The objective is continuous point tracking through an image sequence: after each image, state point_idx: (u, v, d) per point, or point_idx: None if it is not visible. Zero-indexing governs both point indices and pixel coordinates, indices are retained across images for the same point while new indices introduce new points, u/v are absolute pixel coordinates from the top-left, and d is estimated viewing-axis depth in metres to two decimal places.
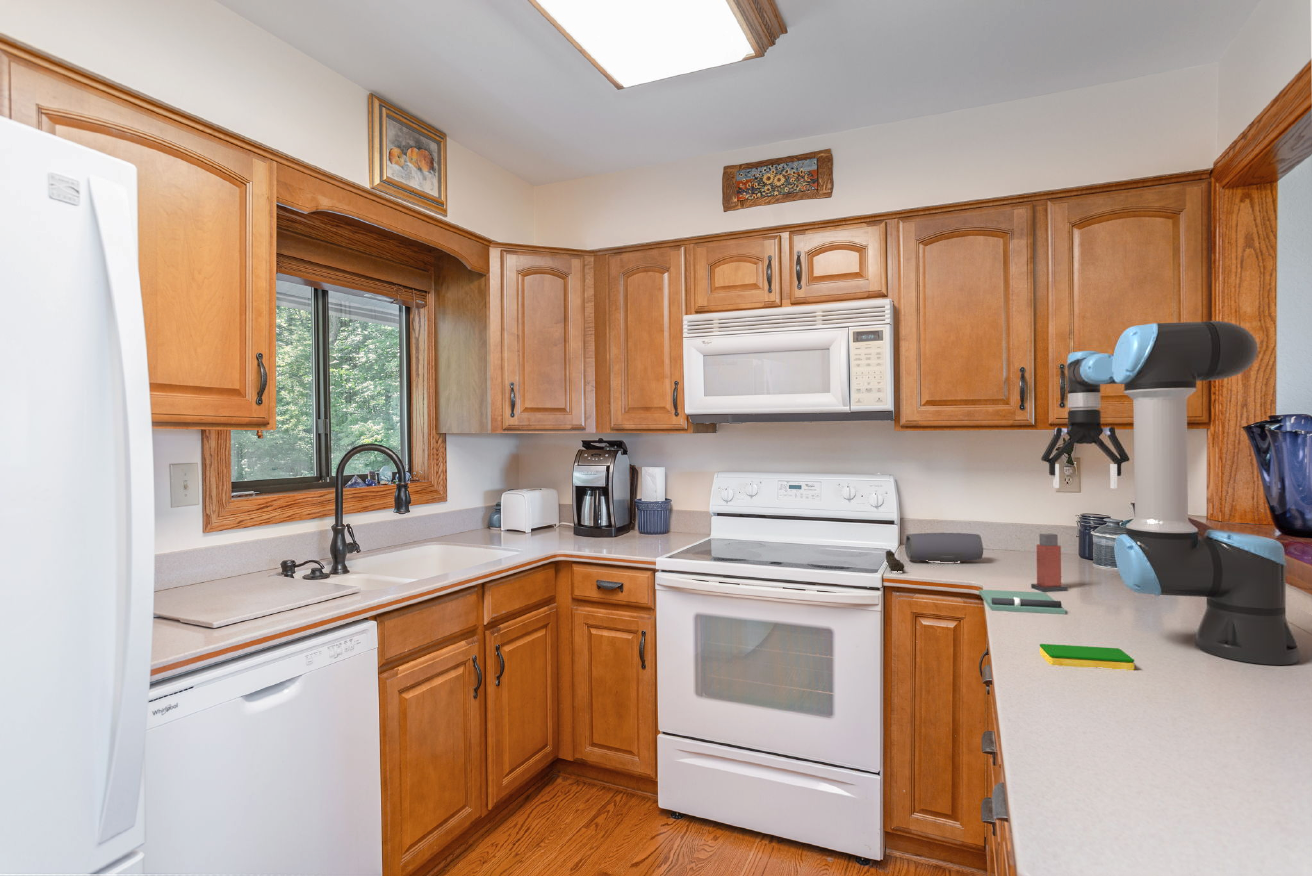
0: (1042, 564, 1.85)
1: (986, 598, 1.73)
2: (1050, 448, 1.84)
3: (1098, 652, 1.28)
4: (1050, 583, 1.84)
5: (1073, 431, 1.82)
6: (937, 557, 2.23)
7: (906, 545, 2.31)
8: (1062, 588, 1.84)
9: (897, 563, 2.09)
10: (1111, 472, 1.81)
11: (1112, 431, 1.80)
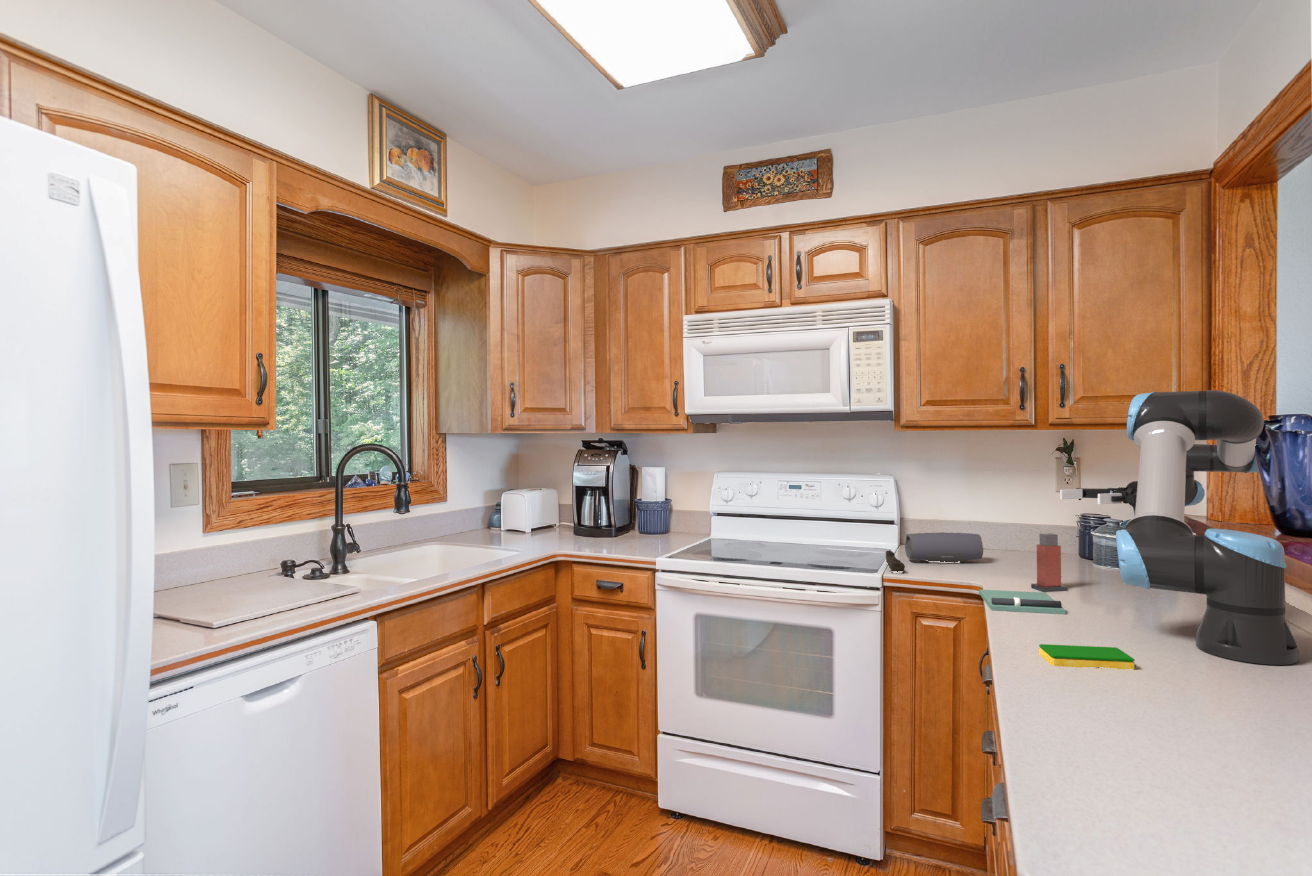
0: (1042, 564, 1.85)
1: (986, 598, 1.73)
2: None
3: (1097, 652, 1.28)
4: (1050, 583, 1.84)
5: None
6: (937, 557, 2.23)
7: (906, 545, 2.31)
8: (1062, 588, 1.84)
9: (897, 563, 2.09)
10: None
11: None
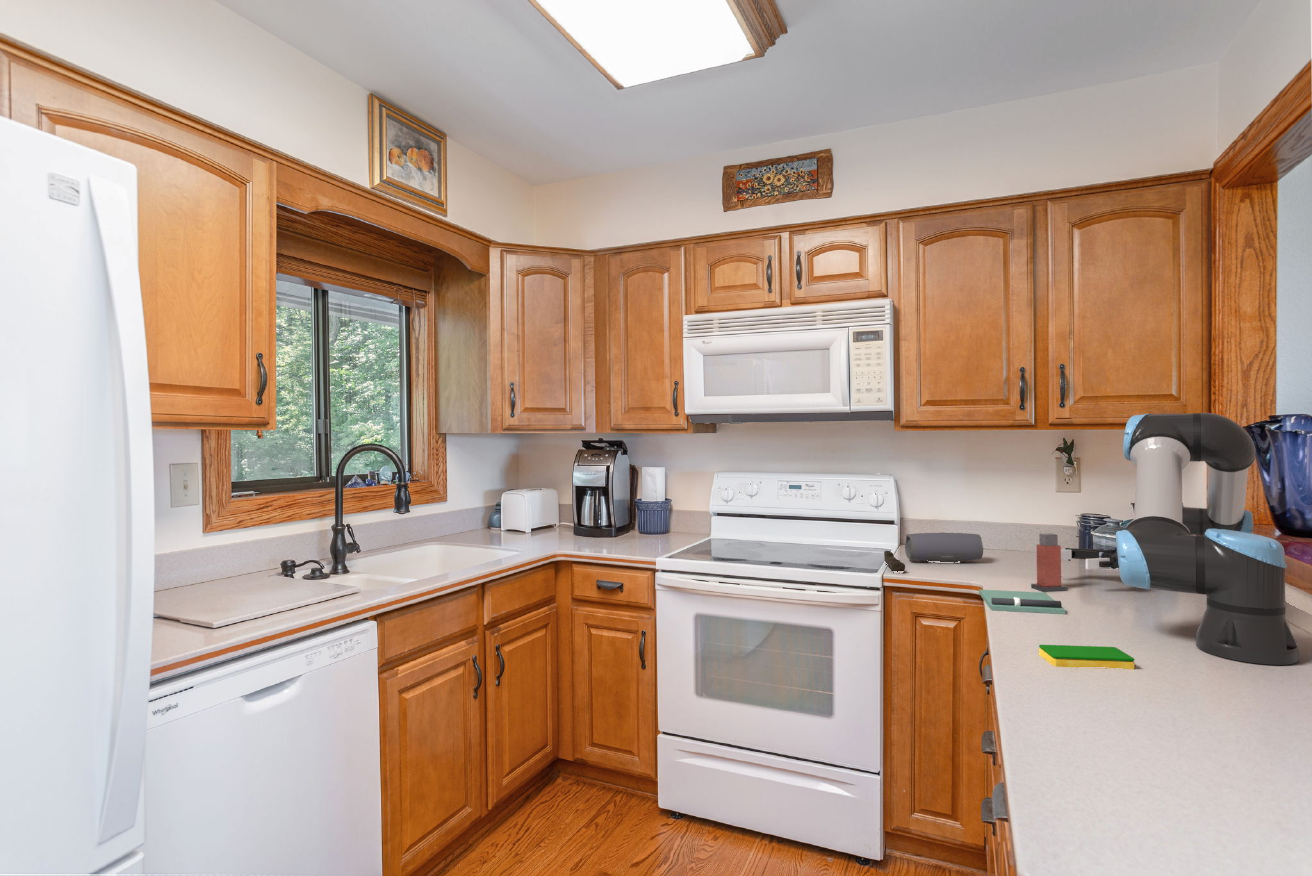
0: (1042, 564, 1.85)
1: (986, 598, 1.73)
2: None
3: (1097, 651, 1.28)
4: (1050, 583, 1.84)
5: None
6: (937, 557, 2.23)
7: (906, 545, 2.31)
8: (1062, 588, 1.84)
9: (898, 563, 2.09)
10: None
11: None
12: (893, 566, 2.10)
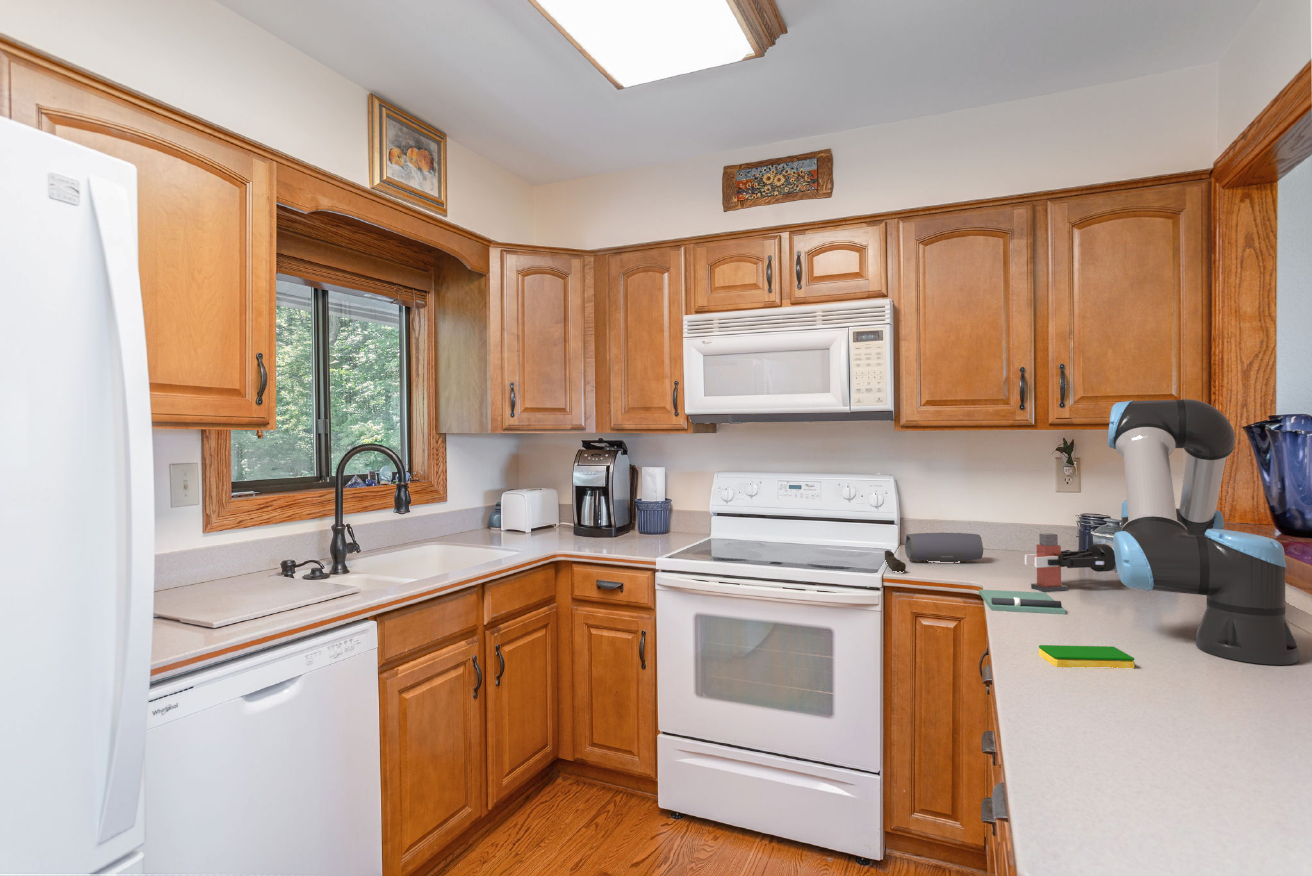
0: None
1: (986, 598, 1.73)
2: None
3: (1097, 651, 1.28)
4: (1050, 583, 1.84)
5: None
6: (937, 557, 2.23)
7: (906, 545, 2.31)
8: (1062, 588, 1.84)
9: (899, 563, 2.09)
10: None
11: (1098, 557, 1.82)
12: (894, 566, 2.10)
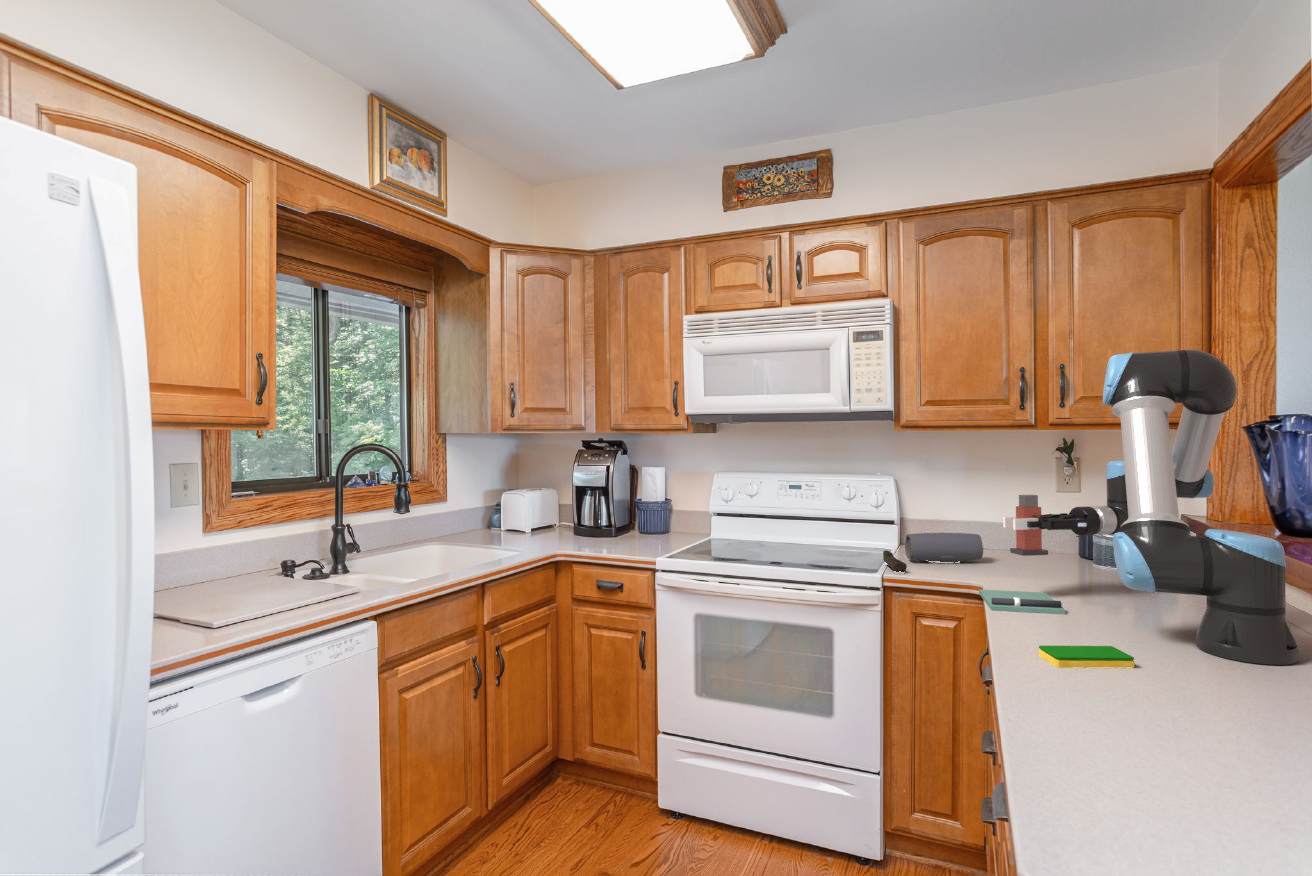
0: None
1: (986, 598, 1.73)
2: None
3: (1097, 651, 1.28)
4: (1029, 546, 1.74)
5: None
6: (937, 557, 2.23)
7: (906, 545, 2.31)
8: (1042, 552, 1.74)
9: (900, 563, 2.09)
10: None
11: (1081, 519, 1.72)
12: (895, 566, 2.09)
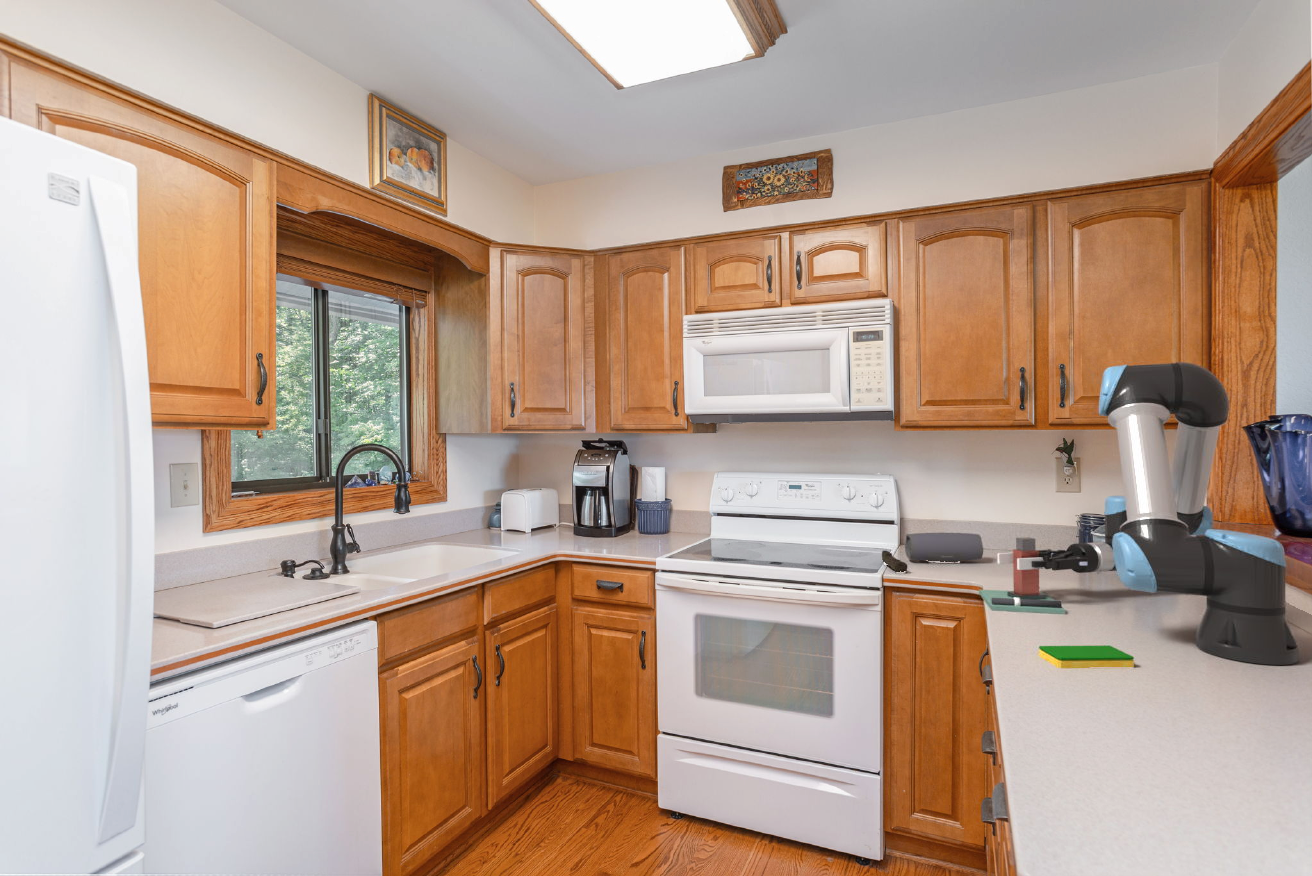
0: (1019, 570, 1.72)
1: (986, 598, 1.73)
2: None
3: (1097, 651, 1.28)
4: (1027, 591, 1.72)
5: None
6: (937, 557, 2.23)
7: (906, 545, 2.31)
8: (1040, 596, 1.71)
9: (901, 563, 2.09)
10: None
11: (1081, 558, 1.69)
12: (896, 566, 2.09)
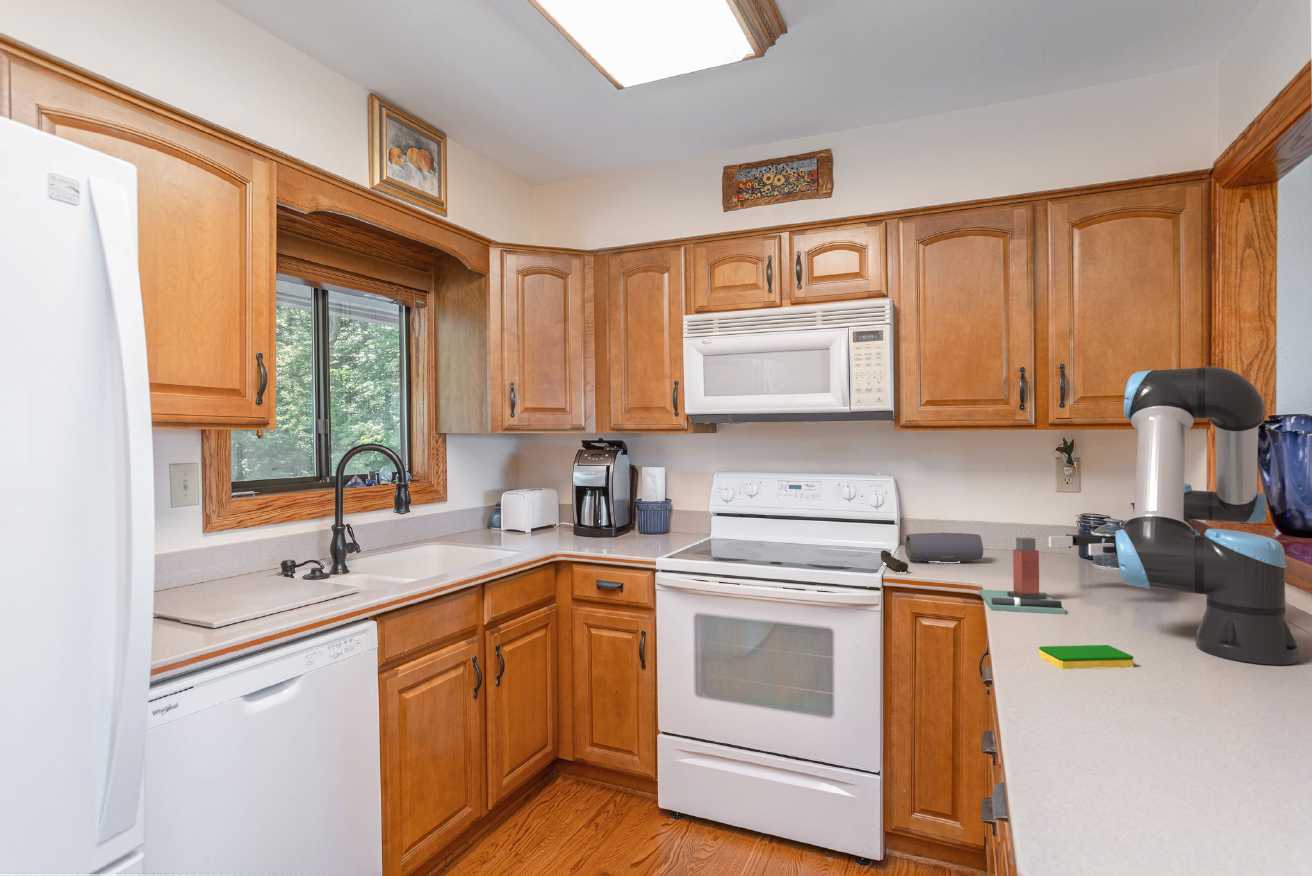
0: (1019, 570, 1.72)
1: (986, 598, 1.73)
2: (1080, 535, 1.85)
3: (1096, 651, 1.28)
4: (1027, 591, 1.72)
5: None
6: (937, 557, 2.23)
7: (906, 545, 2.31)
8: (1040, 596, 1.71)
9: (901, 563, 2.09)
10: None
11: None
12: (896, 566, 2.09)
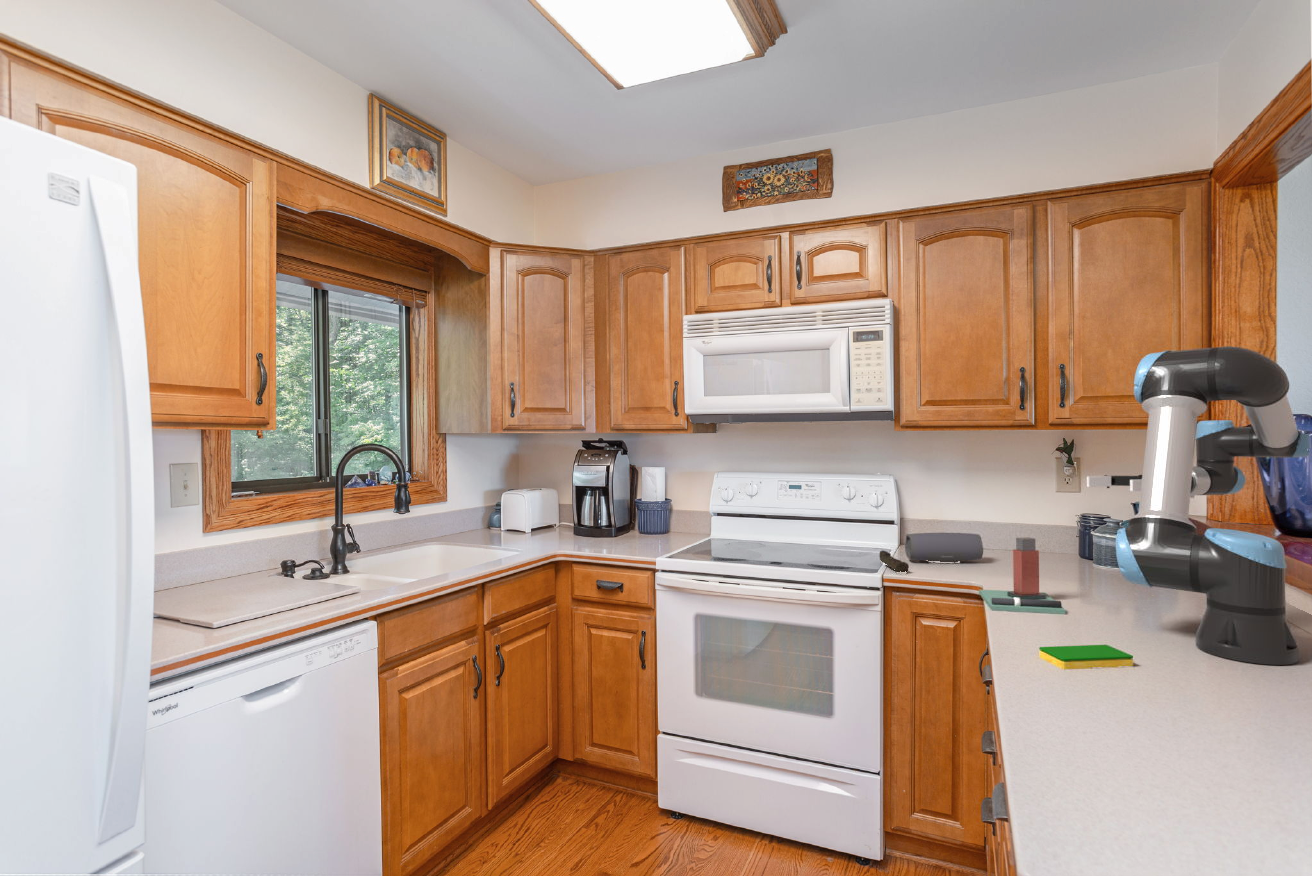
0: (1019, 570, 1.72)
1: (986, 598, 1.73)
2: None
3: (1096, 651, 1.28)
4: (1027, 591, 1.72)
5: None
6: (937, 557, 2.23)
7: (906, 545, 2.31)
8: (1040, 596, 1.71)
9: (902, 563, 2.09)
10: None
11: None
12: (897, 566, 2.09)
